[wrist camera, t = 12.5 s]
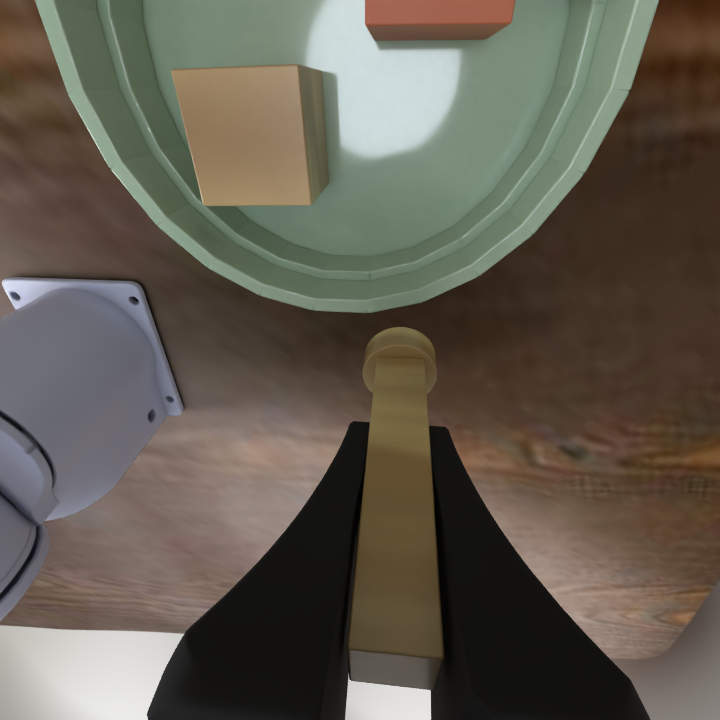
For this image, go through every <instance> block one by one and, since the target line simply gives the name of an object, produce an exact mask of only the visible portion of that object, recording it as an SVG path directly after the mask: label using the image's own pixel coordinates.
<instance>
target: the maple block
mask: <svg viewBox="0 0 720 720" xmlns="http://www.w3.org/2000/svg"><path fill="white" fill-rule="evenodd" d="M171 73H172V77H173V81H174V85H175V90H176V94H177V98H178V102H179V106H180V110H181V115H182V119H183V123H184V127H185V131H186V135H187V140H188V144H189V148H190V152H191V156H192V160H193V165H194V169H195V173H196V177H197V181H198V185H199V190H200V194H201V198H202V202H203V205H204V206H310V205H312V204H313V202H314V201H315V200H316V199H317V197H318V196H319V195H320V194H321V193H322V191H323V190H324V189H325V188H326V187H327V185H328V184H329V173H328V157H327V142H326V127H325V111H324V96H323V81H322V71H321V70H318V69H314V68H310V67H306V66H302V65H299V64H285V65H260V66H234V67H209V68H183V69H172V70H171Z"/></svg>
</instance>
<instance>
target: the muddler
mask: <svg viewBox="0 0 720 720" xmlns="http://www.w3.org/2000/svg"><path fill="white" fill-rule="evenodd" d="M362 374H363V379H364V382H365V384H366V386H367V388H368V389H369V390H370V391H371V392H372V393H373V398H372V408H371V418H370V427H369V437H368V446H367V456H366V466H365V475H364V485H363V494H362V504H361V514H360V523H359V533H358V542H357V552H356V562H355V571H354V581H353V591H352V600H351V610H350V619H349V629H348V639H347V656H348V668H349V678H350V680H351V681H358V682H367V683H375V684H384V685H392V686H401V687H411V688H419V689H427V690H434V689H435V686H436V683H437V679H438V676H439V673H440V670H441V666H442V663H443V660H444V643H443V628H442V613H441V598H440V583H439V568H438V554H437V539H436V524H435V509H434V494H433V479H432V464H431V450H430V435H429V420H428V405H427V394H428V393H429V392H430V391H431V389H432V388H433V386H434V385H435V382H436V379H437V365H436V356H435V350H434V347H433V345H432V343H431V342H430V340H429V339H428V338H427V337H426V336H425V335H423V334H422V333H420V332H419V331H416V330H414V329H411V328H406V327H394V328H389V329H386V330H383V331H381V332H380V333H378V334H377V335H375V336H374V337H373V338H372V339H371V340H370V342H369V343H368V345H367V348H366V351H365V357H364V364H363V372H362Z"/></svg>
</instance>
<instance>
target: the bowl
mask: <svg viewBox="0 0 720 720" xmlns="http://www.w3.org/2000/svg"><path fill="white" fill-rule="evenodd" d="M35 2H36V5H37V7H38V10H39V13H40V16H41V19H42V22H43V25H44V27H45V30H46V33H47V36H48V39H49V42H50V44H51V47H52V50H53V53H54V56H55V59H56V61H57V64H58V67H59V70H60V73H61V76H62V78H63V81H64V84H65V87H66V90H67V92H68V93H69V97H70V98H71V100H72V102H73V104H74V106H75V107H76V109H77V111H78V113H79V114H80V116H81V118H82V120H83V122H84V123H85V125H86V127H87V129H88V131H89V132H90V134H91V136H92V138H93V139H94V141H95V143H96V145H97V147H98V148H99V150H100V152H101V154H102V156H103V157H104V159H105V161H106V163H107V164H108V166H109V168H111V170H112V171H113V173H114V174H115V175H116V176H117V178H118V179H119V180H120V181H121V182H122V184H123V185H124V186H125V187H126V189H127V190H128V191H129V192H130V193H131V195H132V196H133V197H134V198H135V199H136V201H137V202H138V203H139V204H140V206H141V207H142V208H143V209H144V210H145V212H146V213H147V214H148V215H149V217H150V218H151V219H152V220H153V221H154V223H155V224H156V225H158V227H159V228H160V229H161V230H163V231H164V232H165V233H166V234H168V235H169V236H170V237H171V238H172V239H174V240H175V241H176V242H177V243H178V244H180V245H181V246H182V247H183V248H184V249H186V250H187V251H188V252H189V253H190V254H192V255H193V256H194V257H195V258H196V259H198V260H199V261H200V262H201V263H202V264H204V265H205V266H206V267H208V268H209V269H211V270H213V271H214V272H216V273H218V274H220V275H222V276H224V277H226V278H228V279H229V280H231V281H233V282H235V283H237V284H239V285H241V286H243V287H244V288H246V289H248V290H250V291H252V292H254V293H256V294H258V295H261V296H263V297H266V298H270V299H273V300H277V301H280V302H284V303H288V304H291V305H295V306H298V307H302V308H306V309H309V310H314V311H333V312H357V313H367V312H368V313H371V312H376V311H381V310H386V309H391V308H396V307H401V306H406V305H411V304H416V303H421V302H423V301H426V300H429V299H431V298H433V297H435V296H437V295H439V294H442V293H444V292H446V291H448V290H450V289H453V288H455V287H457V286H459V285H461V284H463V283H466V282H468V281H470V280H472V279H474V278H476V277H478V276H480V275H481V274H482V273H484V272H485V271H486V270H488V269H489V268H490V267H492V266H493V265H494V264H496V263H497V262H498V261H499V260H501V259H502V258H503V257H505V256H506V255H507V254H509V253H510V252H511V251H512V250H514V249H515V248H516V247H518V246H519V245H520V244H522V243H523V242H524V241H525V240H527V239H528V238H529V237H531V236H532V234H534V233H535V232H536V230H537V229H538V228H539V227H540V226H541V224H542V223H543V222H544V221H545V220H546V219H547V217H548V216H549V215H550V214H551V213H552V212H553V210H554V209H555V208H556V207H557V206H558V204H559V203H560V202H561V201H562V200H563V199H564V197H565V196H566V195H567V194H568V193H569V191H570V190H571V189H572V188H573V187H574V186H575V184H576V183H577V182H578V181H579V180H580V178H581V177H582V176H583V173H585V172H586V170H587V168H588V166H589V165H590V163H591V161H592V159H593V157H594V156H595V154H596V152H597V150H598V148H599V146H600V145H601V143H602V141H603V139H604V137H605V136H606V134H607V132H608V130H609V128H610V126H611V125H612V123H613V121H614V119H615V117H616V115H617V114H618V112H619V110H620V108H621V106H622V105H623V103H624V101H625V99H626V97H627V95H628V94H629V91H628V90H630V89H631V87H632V83H633V80H634V77H635V74H636V71H637V68H638V65H639V61H640V58H641V55H642V52H643V49H644V46H645V43H646V39H647V36H648V33H649V30H650V27H651V24H652V21H653V17H654V14H655V11H656V8H657V5H658V2H659V0H515V6H514V12H513V18H512V22H511V24H509V25H508V26H506V27H505V28H503V29H501V30H500V31H498V32H497V33H495V34H494V35H492V36H491V37H489V38H487V39H486V40H404V41H375V40H374V39H373V37H372V36H371V34H370V32H369V31H368V29H367V27H366V25H365V0H35ZM285 64H299V65H302V66H306V67H310V68H314V69H318V70H321V71H322V81H323V96H324V111H325V127H326V142H327V157H328V173H329V184H328V185H327V187H326V188H325V189H324V190H323V191H322V193H321V194H320V195H319V196H318V197H317V199H316V200H315V201H314V202H313V204H312V205H310V206H204V205H203V202H202V198H201V194H200V190H199V185H198V181H197V177H196V173H195V169H194V165H193V160H192V156H191V152H190V148H189V144H188V140H187V135H186V131H185V127H184V123H183V119H182V115H181V110H180V106H179V102H178V98H177V94H176V90H175V85H174V81H173V77H172V73H171V70H172V69H183V68H209V67H234V66H260V65H285Z"/></svg>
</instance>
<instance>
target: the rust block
mask: <svg viewBox="0 0 720 720" xmlns="http://www.w3.org/2000/svg"><path fill="white" fill-rule="evenodd" d="M514 6H515V0H365V25H366V27H367V29H368V31H369V32H370V34H371V36H372V37H373V39H374V40H375V41H404V40H486V39H487V38H489V37H491V36H492V35H494V34H495V33H497V32H498V31H500V30H501V29H503V28H505V27H506V26H508V25H509V24H511V22H512V18H513V12H514Z"/></svg>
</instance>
